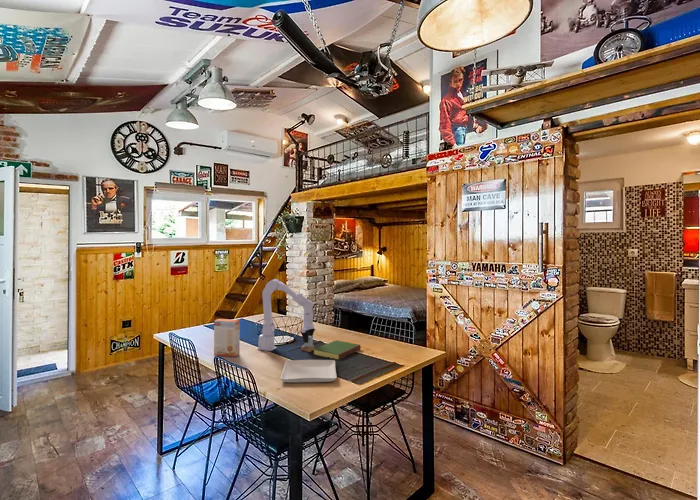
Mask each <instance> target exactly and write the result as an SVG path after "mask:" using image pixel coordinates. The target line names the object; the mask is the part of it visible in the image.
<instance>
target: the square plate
mask: <svg viewBox="0 0 700 500" xmlns="http://www.w3.org/2000/svg"><path fill="white" fill-rule="evenodd" d="M337 378H338V376H337V370H336V359H298V360H297V359H296V360H295V359H293V360H291V359H290V360H285V362H284V365H283V369H282V372H281V374H280V377H279V379H280V381H281V382H284V383H327V382H328V383H330V382H333V381H335V380H336V379H337Z"/></svg>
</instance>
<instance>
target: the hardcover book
mask: <svg viewBox="0 0 700 500" xmlns="http://www.w3.org/2000/svg"><path fill="white" fill-rule="evenodd" d="M358 350H359V351H361V344H358V343H352V342H347V341H342V340H334V341H331V342H328V343H326V344H323V345H321V346H318V347H316V348H315V347H314V350H313V355H315V356H320V357H324V358H328V357H329V358H330V359H333V358H334V359H333V360H338V359H340V360H342V359H344V357H345V358H347V357H348V356H347V355H349V354H351V353H353V354H355V353H356V351H357V352H359V351H358ZM354 352H355V353H354ZM351 355H352V354H351ZM346 356H347V357H346ZM349 356H350V355H349ZM341 358H342V359H341Z"/></svg>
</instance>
